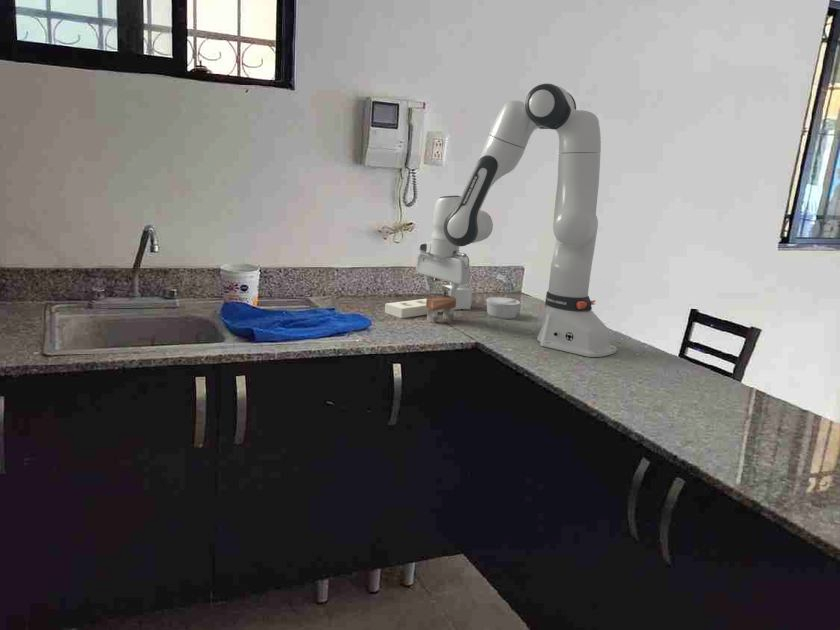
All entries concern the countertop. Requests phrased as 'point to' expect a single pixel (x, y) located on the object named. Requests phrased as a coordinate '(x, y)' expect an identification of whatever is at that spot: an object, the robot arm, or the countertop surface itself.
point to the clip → (438, 304)
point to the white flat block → (407, 308)
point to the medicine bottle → (461, 296)
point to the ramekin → (502, 307)
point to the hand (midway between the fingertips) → (440, 293)
